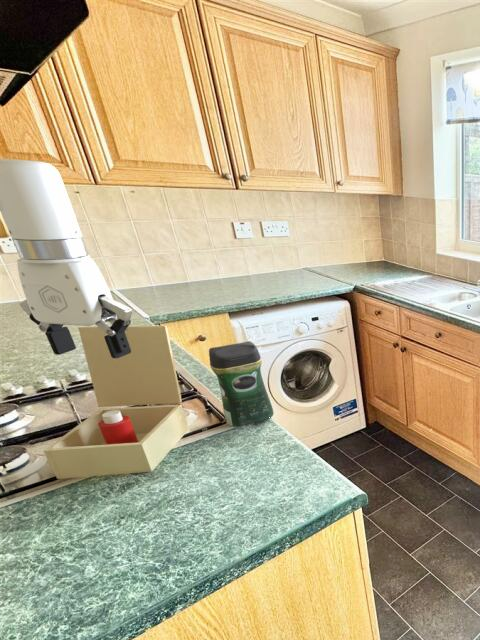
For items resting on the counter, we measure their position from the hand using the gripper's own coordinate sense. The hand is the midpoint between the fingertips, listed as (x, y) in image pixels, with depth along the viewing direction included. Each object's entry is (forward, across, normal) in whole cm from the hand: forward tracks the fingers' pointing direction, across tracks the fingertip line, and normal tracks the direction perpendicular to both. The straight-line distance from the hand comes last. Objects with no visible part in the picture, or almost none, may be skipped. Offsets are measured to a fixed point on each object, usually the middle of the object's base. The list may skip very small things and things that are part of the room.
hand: (94, 353), depth 72 cm
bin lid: (+8, -6, +11) cm, 15 cm away
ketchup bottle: (+22, -4, +2) cm, 23 cm away
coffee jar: (+23, +11, +19) cm, 32 cm away
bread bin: (+23, -4, +3) cm, 23 cm away
